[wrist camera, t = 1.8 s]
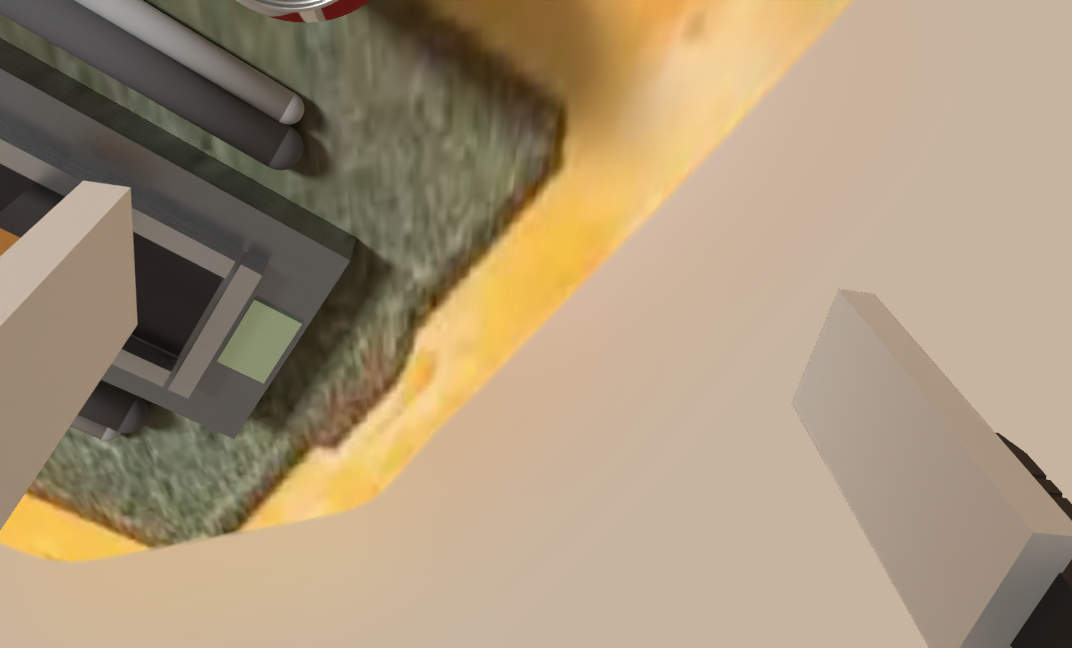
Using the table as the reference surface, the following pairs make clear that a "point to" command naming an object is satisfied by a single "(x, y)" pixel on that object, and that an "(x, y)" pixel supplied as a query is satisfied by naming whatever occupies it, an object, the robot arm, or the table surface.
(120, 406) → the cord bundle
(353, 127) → the table surface
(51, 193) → the breaker lever
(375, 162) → the table surface
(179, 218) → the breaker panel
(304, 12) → the soda can
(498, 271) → the table surface
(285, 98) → the block
